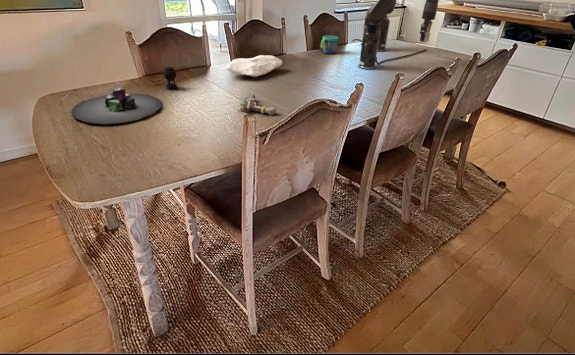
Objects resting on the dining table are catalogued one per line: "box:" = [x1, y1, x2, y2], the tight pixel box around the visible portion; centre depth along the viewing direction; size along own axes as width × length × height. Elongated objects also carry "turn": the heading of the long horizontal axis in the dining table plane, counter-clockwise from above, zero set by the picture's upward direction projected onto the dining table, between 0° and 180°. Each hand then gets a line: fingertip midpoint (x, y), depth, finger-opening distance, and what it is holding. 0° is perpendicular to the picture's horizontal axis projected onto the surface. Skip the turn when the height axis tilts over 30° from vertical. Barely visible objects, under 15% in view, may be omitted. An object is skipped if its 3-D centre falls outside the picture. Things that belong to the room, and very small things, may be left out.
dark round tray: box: [70, 86, 163, 125], centre depth 150 cm, size 35×35×9 cm
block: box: [417, 32, 431, 43], centre depth 223 cm, size 5×5×5 cm
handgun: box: [239, 93, 277, 116], centre depth 158 cm, size 3×18×15 cm
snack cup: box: [319, 34, 340, 55], centre depth 242 cm, size 16×10×10 cm
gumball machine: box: [161, 66, 179, 90], centre depth 173 cm, size 7×6×10 cm
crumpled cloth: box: [225, 54, 283, 78], centre depth 198 cm, size 24×35×9 cm
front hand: (423, 40), depth 224 cm, fingers closed on block, 5 cm apart
